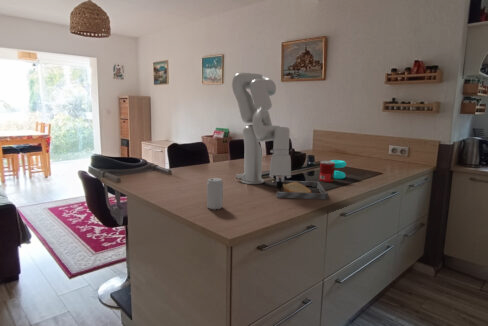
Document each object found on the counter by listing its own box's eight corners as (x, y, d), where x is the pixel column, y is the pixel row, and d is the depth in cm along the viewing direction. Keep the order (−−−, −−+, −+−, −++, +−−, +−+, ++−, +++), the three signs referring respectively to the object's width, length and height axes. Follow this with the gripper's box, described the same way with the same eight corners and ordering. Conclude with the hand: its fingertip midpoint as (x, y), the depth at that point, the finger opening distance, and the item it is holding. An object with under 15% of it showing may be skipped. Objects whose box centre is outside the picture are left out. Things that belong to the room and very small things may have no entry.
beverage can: (207, 205, 137) (207, 177, 135) (222, 205, 138) (222, 177, 136) (206, 210, 131) (206, 181, 129) (222, 210, 132) (223, 181, 129)
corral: (276, 197, 151) (276, 192, 150) (274, 185, 175) (274, 180, 174) (327, 199, 149) (327, 194, 149) (318, 186, 173) (318, 181, 173)
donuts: (347, 160, 197) (345, 163, 188) (346, 176, 199) (344, 179, 190) (330, 159, 201) (328, 161, 191) (329, 175, 202) (327, 178, 193)
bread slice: (311, 198, 152) (311, 190, 151) (273, 194, 158) (274, 186, 157) (316, 189, 168) (317, 182, 168) (282, 185, 175) (283, 179, 174)
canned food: (334, 182, 182) (335, 163, 180) (319, 181, 184) (320, 162, 182) (333, 179, 189) (334, 161, 188) (319, 178, 191) (320, 160, 189)
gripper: (265, 153, 156) (264, 190, 159) (297, 153, 155) (295, 191, 158) (265, 151, 163) (264, 186, 166) (295, 151, 162) (294, 187, 166)
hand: (279, 188), depth 162 cm, fingers closed
